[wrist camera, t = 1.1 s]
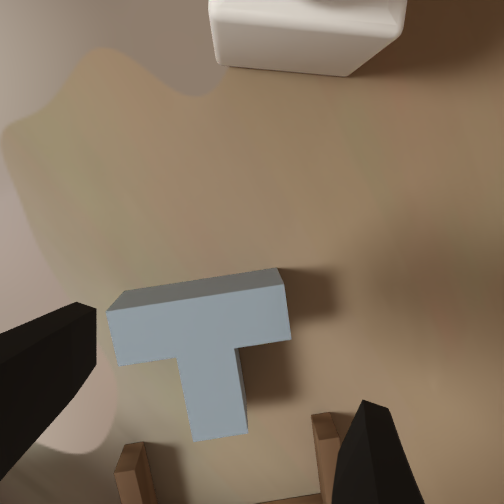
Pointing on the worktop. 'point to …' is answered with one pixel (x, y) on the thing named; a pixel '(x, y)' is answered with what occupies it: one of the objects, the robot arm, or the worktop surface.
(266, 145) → the worktop surface
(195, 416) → the t block
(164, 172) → the worktop surface
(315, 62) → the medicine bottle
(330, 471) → the walnut cradle
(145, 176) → the worktop surface
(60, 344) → the robot arm
